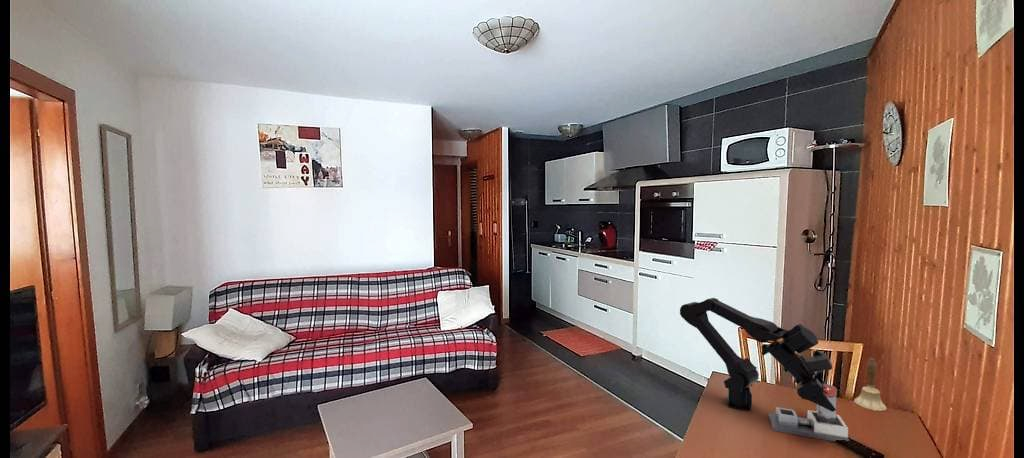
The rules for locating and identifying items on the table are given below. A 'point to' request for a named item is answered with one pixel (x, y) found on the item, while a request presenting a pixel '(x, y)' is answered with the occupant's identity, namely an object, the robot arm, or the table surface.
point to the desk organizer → (808, 425)
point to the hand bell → (870, 391)
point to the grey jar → (825, 414)
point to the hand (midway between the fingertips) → (833, 404)
